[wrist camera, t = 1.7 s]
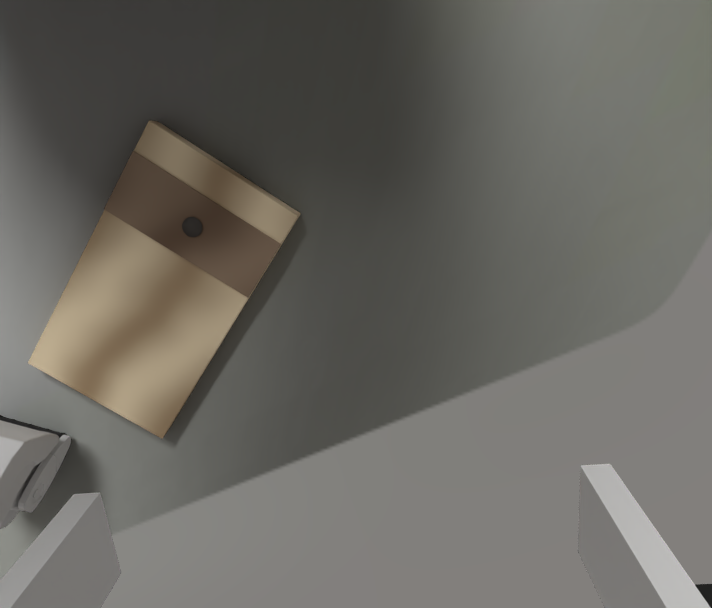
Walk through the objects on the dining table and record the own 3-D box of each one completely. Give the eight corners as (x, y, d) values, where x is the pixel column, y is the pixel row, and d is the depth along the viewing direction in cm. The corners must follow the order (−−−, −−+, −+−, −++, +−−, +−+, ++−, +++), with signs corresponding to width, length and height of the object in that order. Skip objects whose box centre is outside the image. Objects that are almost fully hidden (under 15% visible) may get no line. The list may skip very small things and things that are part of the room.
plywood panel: (38, 356, 38) (25, 364, 36) (156, 120, 33) (147, 120, 31) (168, 429, 39) (160, 440, 37) (300, 213, 34) (297, 216, 33)
